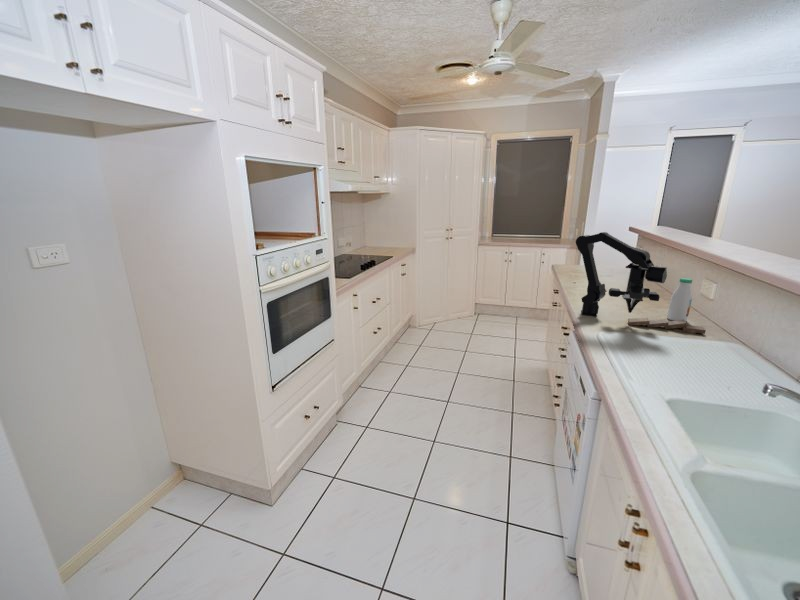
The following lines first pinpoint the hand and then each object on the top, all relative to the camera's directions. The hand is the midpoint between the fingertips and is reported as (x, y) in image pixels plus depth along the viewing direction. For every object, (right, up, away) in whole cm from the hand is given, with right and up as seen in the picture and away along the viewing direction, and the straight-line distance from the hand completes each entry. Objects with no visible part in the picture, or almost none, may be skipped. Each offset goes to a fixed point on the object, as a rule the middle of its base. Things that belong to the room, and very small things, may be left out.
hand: (629, 312), depth 161 cm
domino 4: (+16, -7, -5) cm, 18 cm away
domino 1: (0, -4, +1) cm, 4 cm away
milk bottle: (+27, -4, +7) cm, 28 cm away
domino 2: (+6, -5, -2) cm, 9 cm away
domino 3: (+13, -6, -4) cm, 15 cm away
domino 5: (+18, -6, -8) cm, 20 cm away
